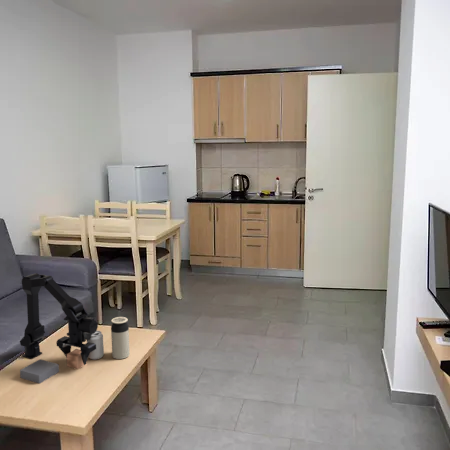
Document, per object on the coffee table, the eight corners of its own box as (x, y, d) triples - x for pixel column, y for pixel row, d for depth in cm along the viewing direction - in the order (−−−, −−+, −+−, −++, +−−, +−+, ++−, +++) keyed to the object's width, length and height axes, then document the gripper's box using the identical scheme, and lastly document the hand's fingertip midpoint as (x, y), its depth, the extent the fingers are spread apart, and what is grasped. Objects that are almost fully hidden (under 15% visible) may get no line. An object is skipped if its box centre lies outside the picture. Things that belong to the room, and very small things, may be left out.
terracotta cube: (67, 366, 207) (66, 354, 206) (77, 360, 213) (76, 348, 212) (77, 369, 205) (76, 356, 204) (87, 363, 210) (86, 351, 209)
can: (99, 361, 212) (98, 336, 210) (84, 359, 214) (83, 335, 212) (106, 353, 219) (105, 330, 217) (92, 352, 221) (91, 328, 219)
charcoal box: (20, 378, 197) (19, 370, 196) (40, 367, 207) (39, 359, 206) (39, 384, 193) (39, 375, 192) (59, 372, 202) (58, 364, 202)
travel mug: (128, 359, 214) (127, 322, 211) (111, 359, 213) (109, 323, 210) (130, 351, 222) (129, 316, 219) (113, 352, 221) (112, 316, 218)
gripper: (103, 327, 209) (105, 359, 212) (72, 320, 217) (74, 351, 220) (86, 336, 199) (88, 369, 202) (54, 328, 207) (56, 360, 210)
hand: (77, 362), depth 208 cm, fingers open, 9 cm apart
